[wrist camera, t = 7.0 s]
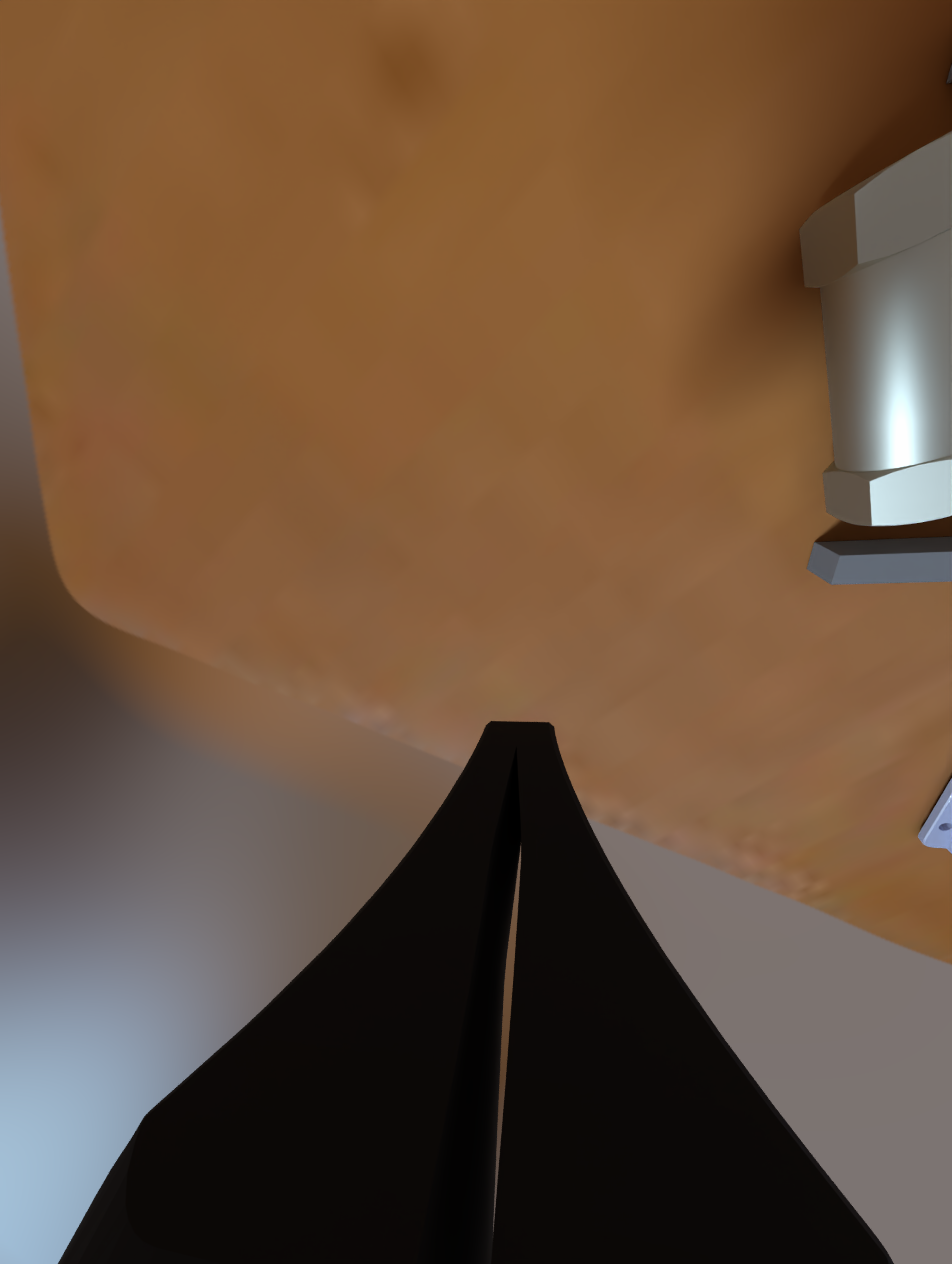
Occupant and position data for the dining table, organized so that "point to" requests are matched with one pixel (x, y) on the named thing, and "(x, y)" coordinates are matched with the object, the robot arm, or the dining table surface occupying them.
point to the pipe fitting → (888, 339)
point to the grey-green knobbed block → (883, 556)
